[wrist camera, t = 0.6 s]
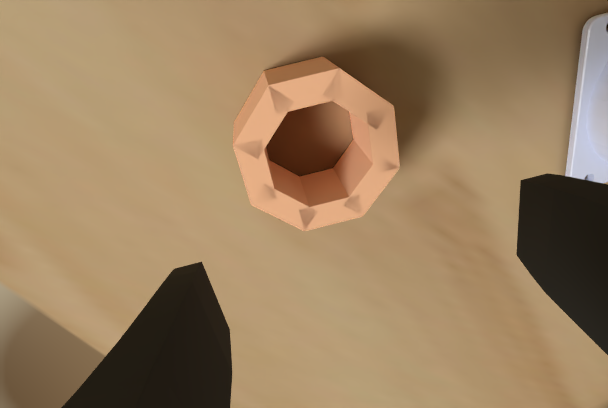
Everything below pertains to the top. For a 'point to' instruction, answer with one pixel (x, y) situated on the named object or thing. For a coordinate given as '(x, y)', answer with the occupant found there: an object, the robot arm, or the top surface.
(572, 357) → the top surface
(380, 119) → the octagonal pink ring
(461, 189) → the top surface
